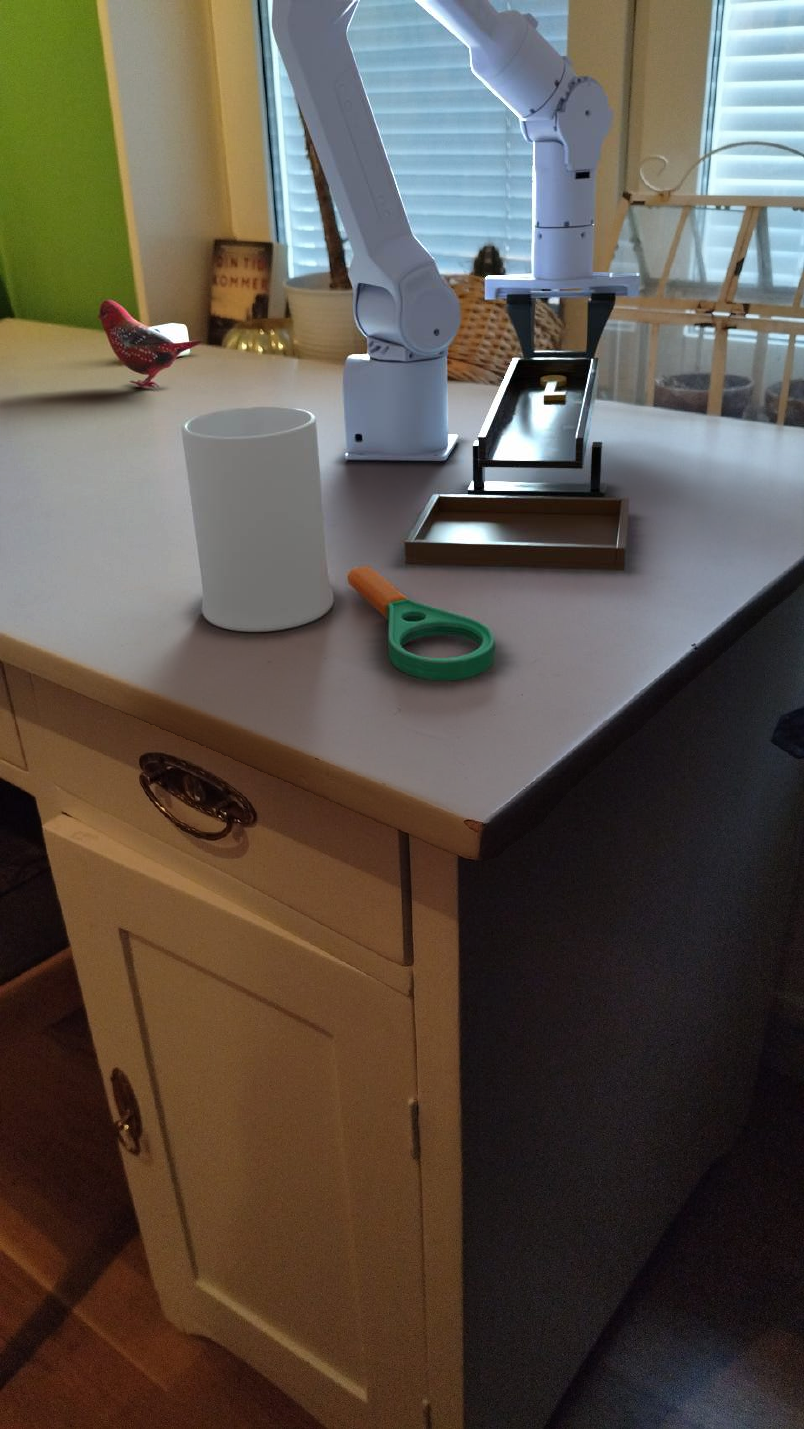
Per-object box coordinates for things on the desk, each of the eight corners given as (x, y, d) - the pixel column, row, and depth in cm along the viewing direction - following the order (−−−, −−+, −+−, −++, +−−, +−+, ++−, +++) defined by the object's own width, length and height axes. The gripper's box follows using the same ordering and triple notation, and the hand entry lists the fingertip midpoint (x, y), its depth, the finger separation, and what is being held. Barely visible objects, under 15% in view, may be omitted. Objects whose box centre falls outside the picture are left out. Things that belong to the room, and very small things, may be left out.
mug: (169, 585, 76) (142, 409, 70) (283, 560, 79) (266, 390, 74) (230, 644, 67) (205, 447, 61) (356, 613, 70) (343, 424, 64)
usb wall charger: (190, 355, 153) (186, 325, 151) (149, 363, 149) (144, 332, 147) (173, 352, 155) (169, 322, 153) (132, 360, 151) (127, 330, 149)
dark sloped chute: (478, 467, 85) (477, 437, 84) (519, 367, 110) (519, 343, 109) (582, 469, 84) (583, 438, 82) (600, 367, 108) (601, 342, 107)
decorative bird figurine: (117, 380, 140) (103, 297, 136) (217, 393, 131) (206, 304, 126) (99, 384, 138) (85, 300, 134) (199, 398, 129) (188, 308, 124)
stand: (467, 494, 91) (466, 446, 89) (471, 486, 93) (471, 439, 92) (604, 497, 89) (606, 448, 87) (605, 488, 91) (607, 440, 89)
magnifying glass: (515, 666, 62) (516, 639, 62) (419, 690, 60) (419, 662, 59) (402, 581, 75) (401, 558, 74) (319, 599, 72) (317, 575, 72)
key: (534, 400, 98) (534, 395, 97) (541, 380, 103) (541, 375, 103) (565, 400, 97) (565, 395, 97) (570, 380, 103) (570, 375, 103)
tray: (405, 563, 78) (404, 541, 77) (432, 513, 87) (432, 493, 87) (624, 570, 75) (625, 548, 74) (628, 518, 84) (629, 497, 84)
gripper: (643, 219, 104) (635, 366, 111) (491, 223, 107) (491, 367, 114) (642, 226, 98) (633, 381, 105) (481, 230, 101) (482, 381, 107)
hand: (559, 375), depth 109 cm, fingers closed on dark sloped chute, 5 cm apart
